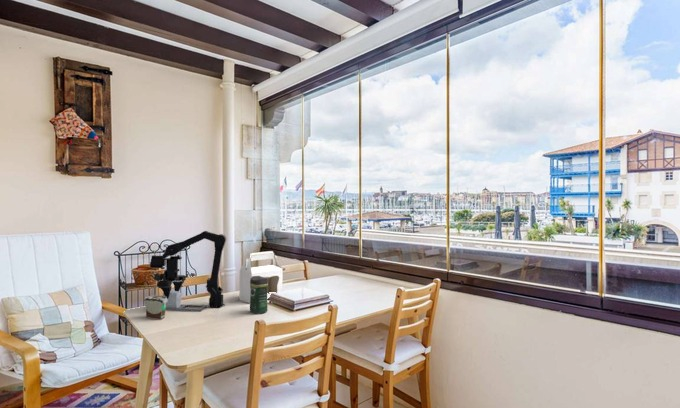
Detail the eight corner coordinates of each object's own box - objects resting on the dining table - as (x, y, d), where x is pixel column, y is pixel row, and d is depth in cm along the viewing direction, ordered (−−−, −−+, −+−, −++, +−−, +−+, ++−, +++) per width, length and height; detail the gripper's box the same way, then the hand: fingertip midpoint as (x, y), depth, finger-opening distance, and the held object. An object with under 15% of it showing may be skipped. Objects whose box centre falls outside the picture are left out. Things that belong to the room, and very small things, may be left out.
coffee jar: (269, 312, 190) (270, 276, 190) (256, 315, 185) (256, 278, 185) (260, 308, 197) (261, 274, 197) (247, 311, 192) (247, 275, 192)
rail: (207, 307, 198) (207, 305, 198) (200, 311, 190) (200, 309, 190) (164, 306, 200) (164, 303, 200) (156, 310, 192) (156, 307, 192)
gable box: (250, 304, 206) (251, 254, 206) (238, 299, 215) (239, 252, 215) (282, 297, 222) (283, 251, 222) (270, 293, 231) (270, 249, 231)
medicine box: (180, 307, 197) (181, 291, 197) (176, 309, 193) (176, 293, 193) (167, 306, 198) (167, 290, 198) (162, 309, 193) (162, 292, 193)
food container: (173, 316, 181) (173, 296, 181) (163, 320, 175) (163, 299, 175) (153, 313, 185) (154, 294, 185) (143, 317, 179) (144, 296, 179)
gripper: (167, 264, 205) (167, 292, 205) (147, 270, 187) (146, 300, 187) (186, 265, 204) (185, 293, 204) (167, 270, 186) (167, 301, 186)
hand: (171, 296), depth 195 cm, fingers open, 9 cm apart
